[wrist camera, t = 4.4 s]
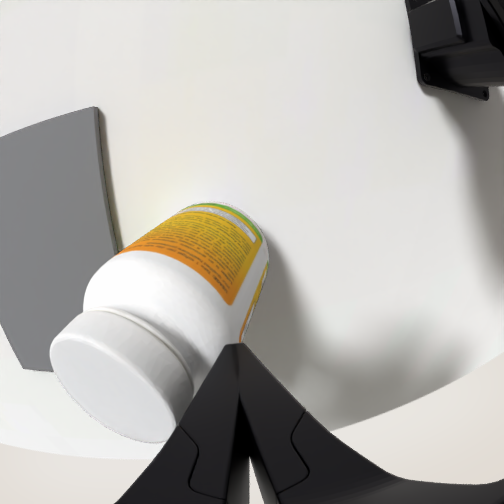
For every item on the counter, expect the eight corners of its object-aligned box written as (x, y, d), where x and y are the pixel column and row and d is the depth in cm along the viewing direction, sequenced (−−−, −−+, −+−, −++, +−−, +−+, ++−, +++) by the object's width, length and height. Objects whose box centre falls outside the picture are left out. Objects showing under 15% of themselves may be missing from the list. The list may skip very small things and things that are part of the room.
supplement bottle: (155, 211, 15) (4, 309, 6) (256, 188, 14) (145, 302, 5) (186, 303, 17) (90, 438, 8) (280, 293, 15) (232, 469, 7)
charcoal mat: (97, 107, 12) (93, 106, 12) (150, 367, 18) (149, 374, 18) (-38, 156, 12) (-44, 158, 11) (26, 364, 17) (23, 369, 17)
